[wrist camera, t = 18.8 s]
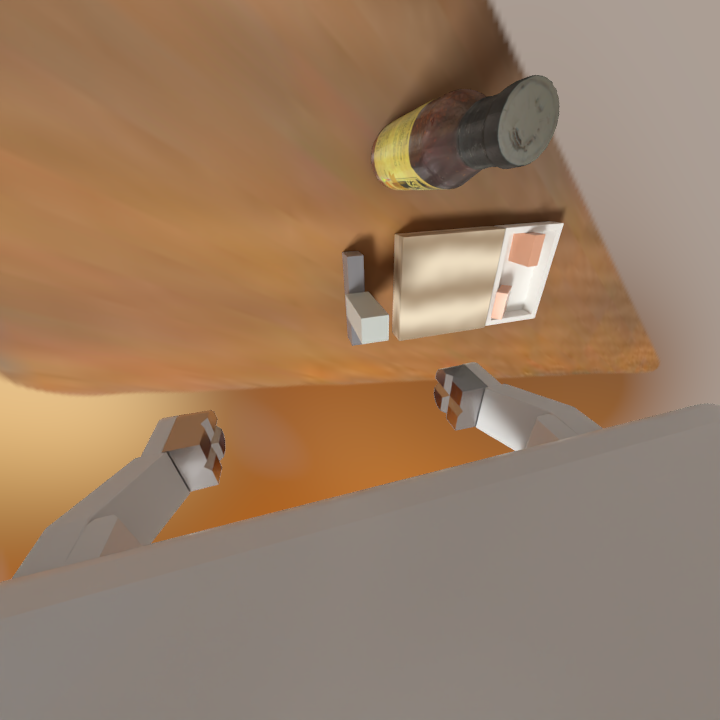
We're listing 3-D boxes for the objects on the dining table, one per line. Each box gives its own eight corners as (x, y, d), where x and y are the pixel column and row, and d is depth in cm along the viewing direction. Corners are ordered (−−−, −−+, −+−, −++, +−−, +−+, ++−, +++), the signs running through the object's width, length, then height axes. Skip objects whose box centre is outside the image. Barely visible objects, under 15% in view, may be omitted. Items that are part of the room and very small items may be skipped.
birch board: (394, 233, 36) (403, 237, 34) (491, 226, 39) (505, 228, 37) (392, 332, 44) (399, 340, 41) (473, 319, 47) (484, 327, 44)
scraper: (338, 252, 36) (359, 274, 27) (361, 250, 37) (389, 271, 27) (344, 336, 42) (363, 378, 33) (364, 333, 43) (388, 373, 34)
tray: (494, 225, 39) (506, 227, 37) (549, 221, 41) (563, 223, 39) (476, 319, 47) (485, 325, 45) (523, 312, 48) (534, 318, 46)
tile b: (496, 292, 41) (507, 293, 40) (501, 284, 44) (512, 285, 43) (490, 317, 43) (501, 319, 42) (495, 309, 46) (505, 310, 45)
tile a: (535, 235, 37) (545, 234, 37) (514, 231, 40) (523, 230, 40) (527, 267, 39) (537, 265, 39) (507, 260, 42) (516, 259, 42)
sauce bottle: (376, 197, 34) (471, 208, 17) (362, 132, 30) (464, 69, 14) (426, 179, 34) (567, 173, 18) (418, 113, 31) (584, 29, 14)
